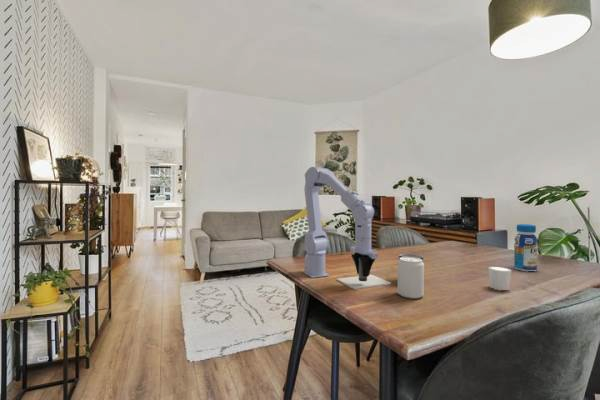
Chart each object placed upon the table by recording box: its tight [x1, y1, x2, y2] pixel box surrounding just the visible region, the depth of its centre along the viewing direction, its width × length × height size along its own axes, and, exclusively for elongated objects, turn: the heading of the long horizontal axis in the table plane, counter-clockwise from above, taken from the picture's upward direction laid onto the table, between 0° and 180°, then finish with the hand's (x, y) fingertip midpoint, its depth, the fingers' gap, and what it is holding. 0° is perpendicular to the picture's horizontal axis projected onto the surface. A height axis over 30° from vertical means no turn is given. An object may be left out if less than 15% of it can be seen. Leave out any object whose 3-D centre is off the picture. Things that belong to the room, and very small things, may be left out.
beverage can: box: [397, 257, 425, 300], centre depth 98 cm, size 8×8×12 cm
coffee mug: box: [398, 252, 424, 263], centre depth 114 cm, size 12×9×10 cm
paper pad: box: [336, 274, 392, 290], centre depth 112 cm, size 12×16×1 cm
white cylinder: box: [488, 266, 512, 291], centre depth 106 cm, size 7×7×7 cm
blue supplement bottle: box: [513, 223, 539, 272], centre depth 132 cm, size 8×8×20 cm
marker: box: [358, 259, 367, 281], centre depth 107 cm, size 3×3×8 cm
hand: (363, 274), depth 107 cm, fingers closed on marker, 3 cm apart
